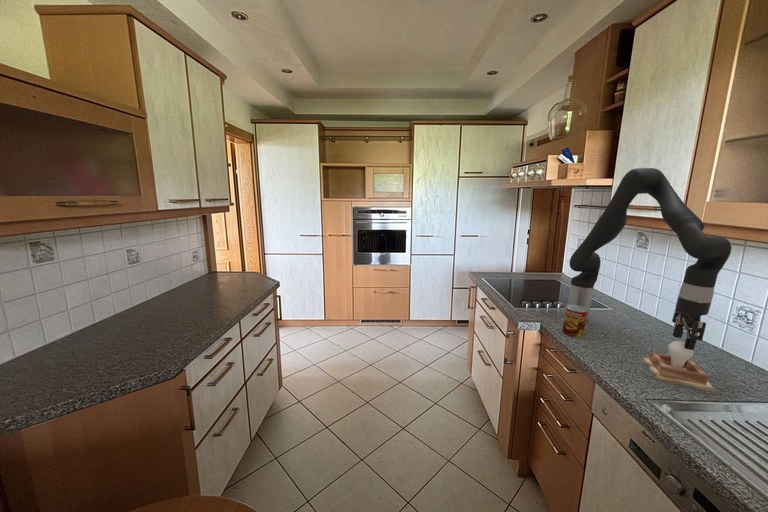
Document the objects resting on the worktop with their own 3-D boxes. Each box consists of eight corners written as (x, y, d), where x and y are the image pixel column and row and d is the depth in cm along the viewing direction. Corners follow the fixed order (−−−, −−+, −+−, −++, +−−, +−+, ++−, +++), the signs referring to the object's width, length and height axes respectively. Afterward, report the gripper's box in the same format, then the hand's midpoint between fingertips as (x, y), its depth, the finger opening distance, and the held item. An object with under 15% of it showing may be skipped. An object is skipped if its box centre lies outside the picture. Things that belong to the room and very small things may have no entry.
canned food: (558, 331, 133) (562, 306, 130) (569, 328, 136) (572, 303, 133) (576, 339, 126) (580, 313, 123) (587, 335, 129) (591, 309, 127)
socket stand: (642, 358, 112) (644, 349, 111) (692, 368, 106) (694, 358, 105) (657, 380, 99) (659, 369, 98) (714, 392, 94) (717, 380, 93)
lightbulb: (679, 377, 99) (686, 347, 96) (658, 367, 105) (665, 338, 102) (692, 375, 100) (700, 345, 98) (671, 365, 106) (678, 336, 104)
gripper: (670, 289, 104) (659, 331, 108) (690, 303, 92) (677, 350, 96) (698, 292, 101) (687, 335, 105) (723, 307, 89) (709, 356, 92)
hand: (682, 342), depth 100 cm, fingers open, 8 cm apart
